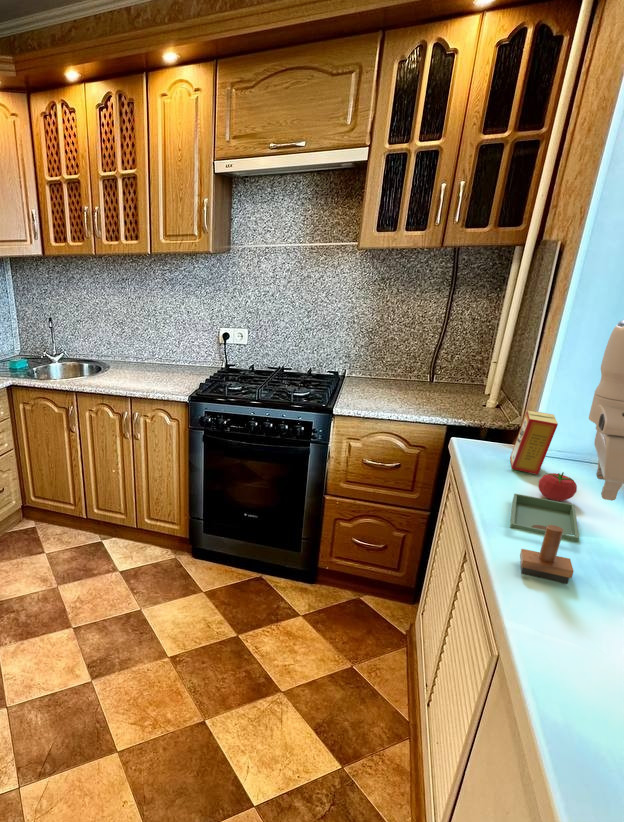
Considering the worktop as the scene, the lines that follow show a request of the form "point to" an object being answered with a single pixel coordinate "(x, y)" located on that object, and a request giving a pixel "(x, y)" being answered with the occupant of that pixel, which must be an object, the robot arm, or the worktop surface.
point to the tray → (543, 515)
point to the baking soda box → (533, 441)
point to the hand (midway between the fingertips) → (604, 488)
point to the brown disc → (539, 527)
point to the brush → (547, 559)
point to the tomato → (557, 486)
